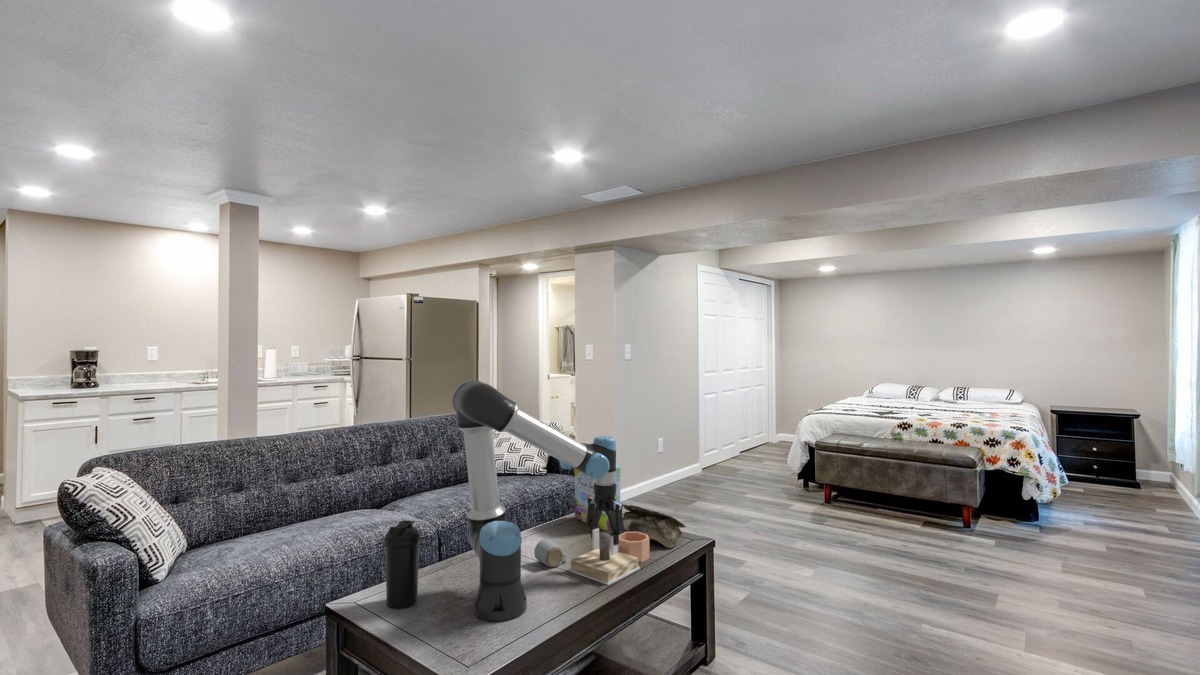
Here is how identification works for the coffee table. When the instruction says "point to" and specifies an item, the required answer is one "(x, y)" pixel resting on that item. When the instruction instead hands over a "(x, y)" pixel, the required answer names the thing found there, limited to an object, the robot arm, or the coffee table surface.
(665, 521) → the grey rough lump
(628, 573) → the mat
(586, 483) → the snack box
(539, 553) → the ceramic mug
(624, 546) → the bowl
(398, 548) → the water bottle
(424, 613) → the coffee table surface
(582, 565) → the lid
